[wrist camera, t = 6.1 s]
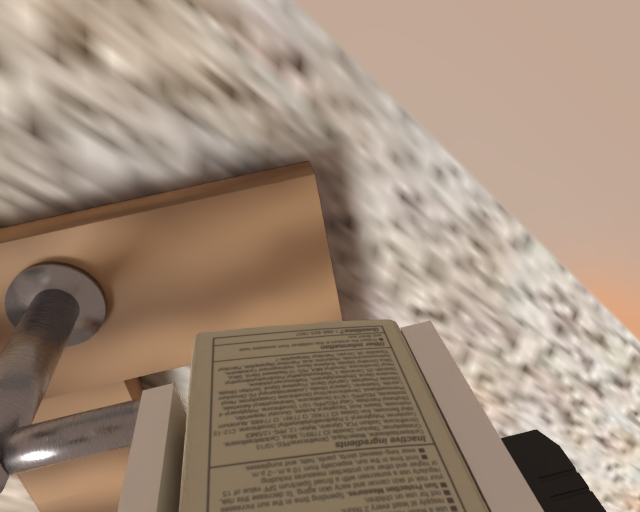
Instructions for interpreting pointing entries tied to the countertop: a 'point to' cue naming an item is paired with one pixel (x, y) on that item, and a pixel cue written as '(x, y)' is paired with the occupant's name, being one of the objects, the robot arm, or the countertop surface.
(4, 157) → the countertop surface
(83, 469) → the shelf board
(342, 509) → the box
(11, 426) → the door lever handle
